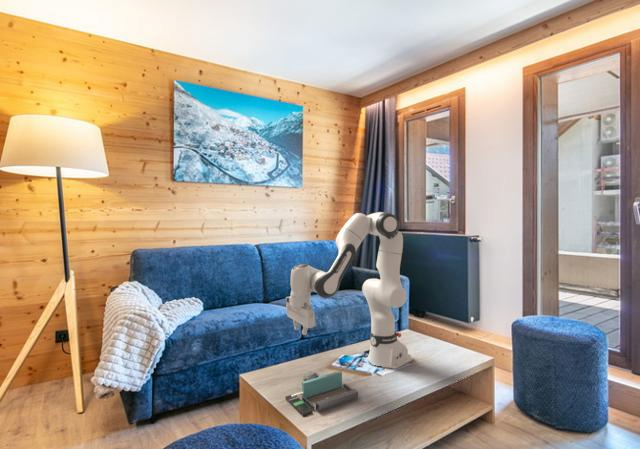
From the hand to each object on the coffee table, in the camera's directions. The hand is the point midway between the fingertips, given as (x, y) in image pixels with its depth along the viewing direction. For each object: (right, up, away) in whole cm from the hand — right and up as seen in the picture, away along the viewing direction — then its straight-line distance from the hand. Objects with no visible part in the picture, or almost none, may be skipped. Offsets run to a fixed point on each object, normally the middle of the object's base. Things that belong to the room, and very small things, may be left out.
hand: (300, 332), depth 163 cm
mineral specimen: (+6, -20, -7) cm, 22 cm away
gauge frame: (+10, -20, -19) cm, 30 cm away
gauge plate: (+7, -20, -16) cm, 26 cm away
